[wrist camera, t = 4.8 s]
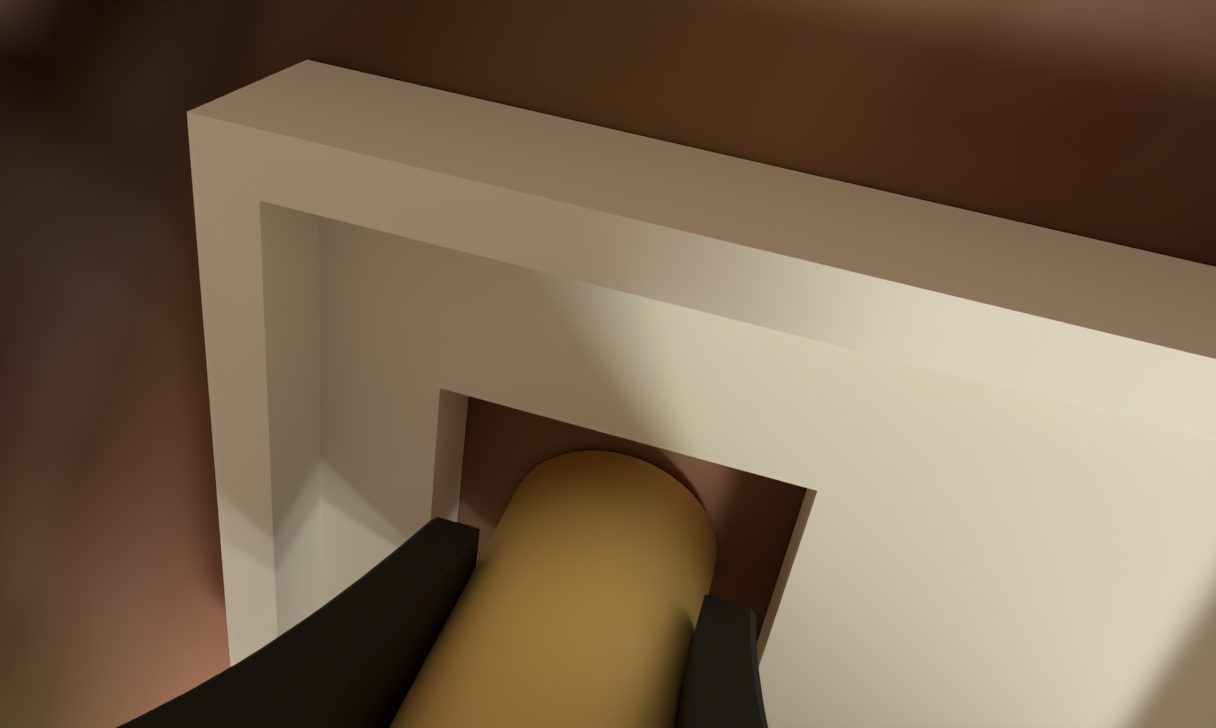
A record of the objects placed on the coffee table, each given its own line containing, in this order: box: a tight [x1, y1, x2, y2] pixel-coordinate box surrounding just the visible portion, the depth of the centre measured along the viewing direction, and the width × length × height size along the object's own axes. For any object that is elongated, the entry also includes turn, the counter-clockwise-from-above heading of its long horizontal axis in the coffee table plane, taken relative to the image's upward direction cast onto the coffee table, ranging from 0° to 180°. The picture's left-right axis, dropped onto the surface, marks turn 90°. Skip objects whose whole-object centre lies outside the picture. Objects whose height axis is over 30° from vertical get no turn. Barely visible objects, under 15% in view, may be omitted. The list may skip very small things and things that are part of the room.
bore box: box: [187, 60, 1216, 728], centre depth 13 cm, size 14×12×2 cm
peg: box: [389, 451, 717, 728], centre depth 12 cm, size 3×3×6 cm
